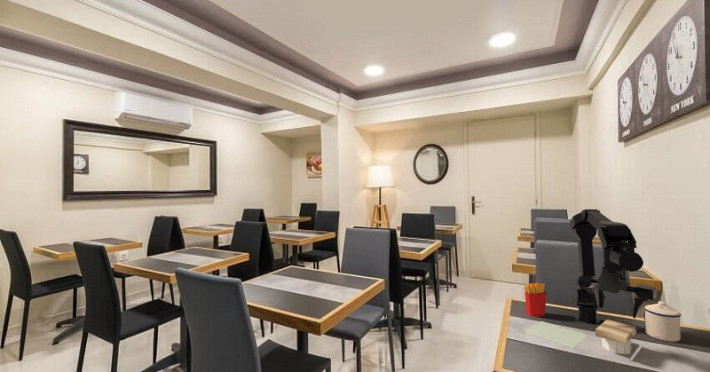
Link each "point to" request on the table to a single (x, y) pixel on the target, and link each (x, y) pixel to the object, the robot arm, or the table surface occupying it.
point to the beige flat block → (615, 331)
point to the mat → (556, 334)
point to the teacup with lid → (662, 322)
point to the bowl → (616, 346)
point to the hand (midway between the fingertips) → (615, 313)
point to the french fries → (535, 299)
